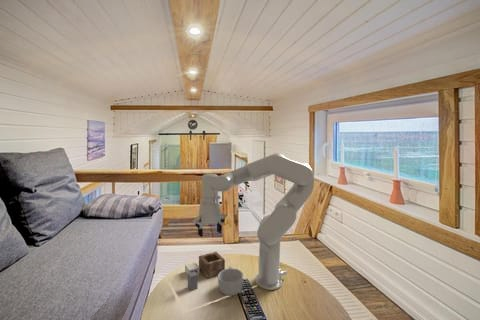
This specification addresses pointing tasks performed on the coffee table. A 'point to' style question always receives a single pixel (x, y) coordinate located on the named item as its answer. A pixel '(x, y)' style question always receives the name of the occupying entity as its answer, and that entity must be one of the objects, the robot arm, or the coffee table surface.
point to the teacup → (230, 281)
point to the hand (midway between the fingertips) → (209, 234)
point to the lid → (192, 280)
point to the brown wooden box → (211, 264)
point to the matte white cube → (191, 268)
